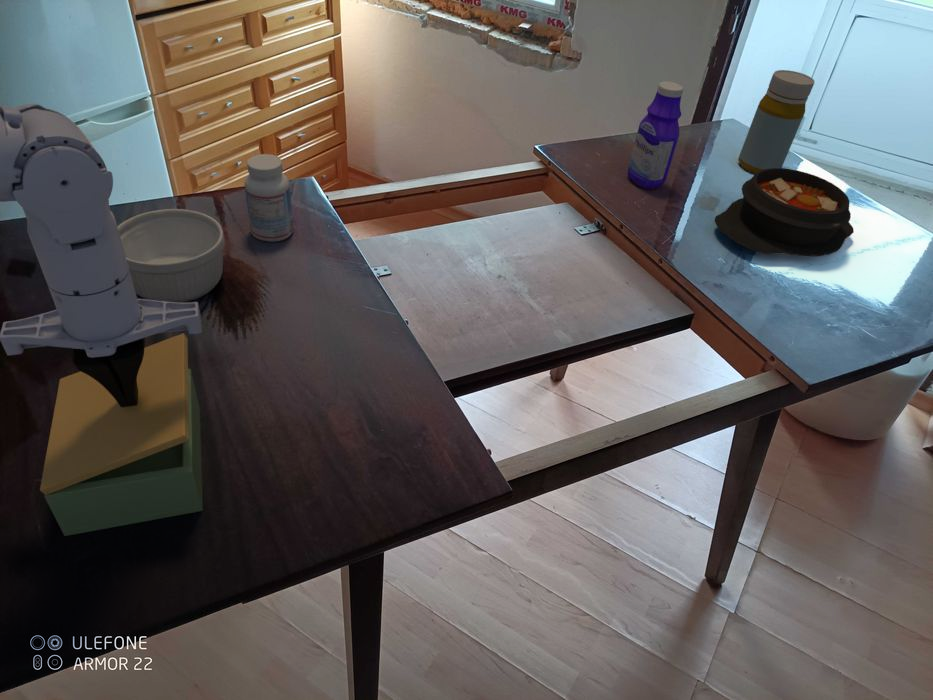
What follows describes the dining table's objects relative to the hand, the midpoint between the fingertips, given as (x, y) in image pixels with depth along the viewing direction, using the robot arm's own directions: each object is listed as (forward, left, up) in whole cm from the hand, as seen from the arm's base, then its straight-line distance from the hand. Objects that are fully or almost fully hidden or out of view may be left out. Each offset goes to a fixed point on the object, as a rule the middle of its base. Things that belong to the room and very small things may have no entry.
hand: (129, 398), depth 61 cm
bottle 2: (+108, +51, -9) cm, 120 cm away
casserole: (+96, +28, -9) cm, 101 cm away
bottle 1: (+82, +48, -9) cm, 95 cm away
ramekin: (+2, +31, -9) cm, 32 cm away
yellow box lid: (-1, 0, -1) cm, 2 cm away
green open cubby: (-1, 0, -9) cm, 9 cm away
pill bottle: (+15, +41, -9) cm, 45 cm away
